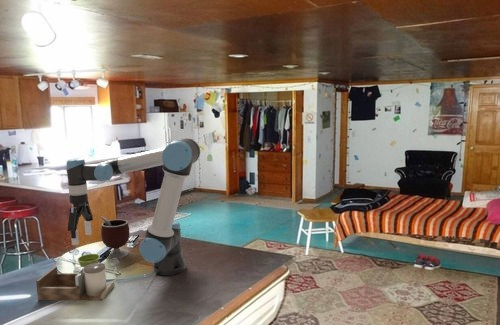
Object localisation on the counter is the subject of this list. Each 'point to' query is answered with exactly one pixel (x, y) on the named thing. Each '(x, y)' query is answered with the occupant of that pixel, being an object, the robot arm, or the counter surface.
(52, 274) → the wooden organizer tray
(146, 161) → the robot arm
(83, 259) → the plant pot
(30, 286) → the counter surface
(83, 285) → the pusher
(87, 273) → the cream jar
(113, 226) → the mate gourd
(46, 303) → the counter surface
